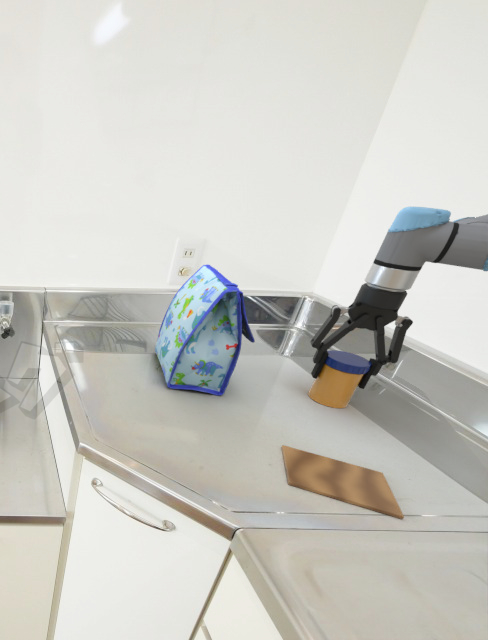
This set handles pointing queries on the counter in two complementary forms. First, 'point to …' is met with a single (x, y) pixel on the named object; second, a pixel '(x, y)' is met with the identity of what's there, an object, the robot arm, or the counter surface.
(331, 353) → the jar lid
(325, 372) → the jam jar
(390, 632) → the counter surface
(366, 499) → the wooden cutting board
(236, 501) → the counter surface
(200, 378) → the lunch bag
